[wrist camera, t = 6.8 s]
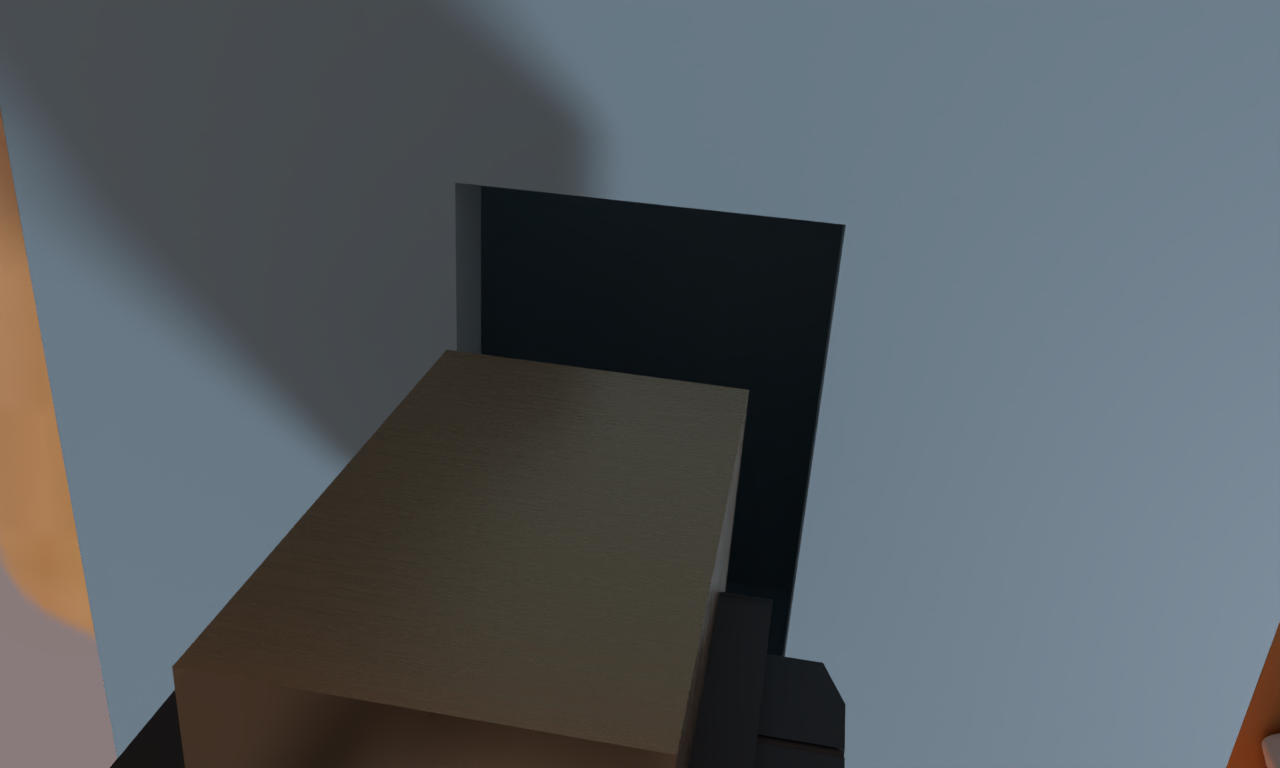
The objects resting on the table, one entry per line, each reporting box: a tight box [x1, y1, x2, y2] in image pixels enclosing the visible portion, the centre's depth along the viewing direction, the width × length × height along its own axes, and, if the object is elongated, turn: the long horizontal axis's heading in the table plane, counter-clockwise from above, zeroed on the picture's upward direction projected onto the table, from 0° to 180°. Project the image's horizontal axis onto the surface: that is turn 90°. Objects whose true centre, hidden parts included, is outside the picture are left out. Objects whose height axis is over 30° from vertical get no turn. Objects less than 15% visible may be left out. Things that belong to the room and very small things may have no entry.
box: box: [0, 0, 1280, 768], centre depth 20 cm, size 16×20×12 cm
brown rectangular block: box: [172, 350, 749, 768], centre depth 10 cm, size 3×5×5 cm, turn 176°
